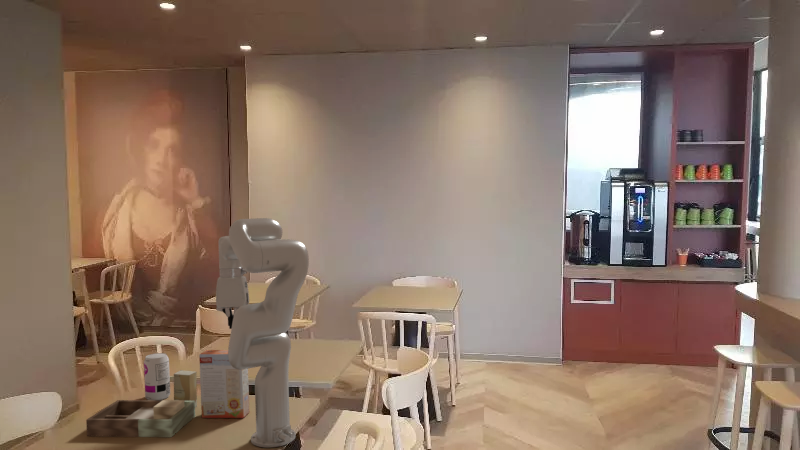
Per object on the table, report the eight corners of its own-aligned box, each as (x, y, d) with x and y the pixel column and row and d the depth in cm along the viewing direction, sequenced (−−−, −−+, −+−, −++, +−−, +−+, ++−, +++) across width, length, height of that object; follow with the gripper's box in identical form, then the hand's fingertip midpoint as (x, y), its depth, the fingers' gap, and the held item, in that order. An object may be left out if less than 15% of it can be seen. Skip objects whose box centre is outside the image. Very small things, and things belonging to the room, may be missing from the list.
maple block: (184, 412, 187) (184, 400, 187) (176, 420, 181) (175, 407, 181) (163, 412, 188) (162, 400, 188) (153, 419, 182) (153, 406, 182)
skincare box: (173, 409, 199) (172, 373, 198) (181, 405, 203) (179, 369, 202) (190, 411, 197) (189, 374, 197) (198, 406, 201) (196, 370, 201)
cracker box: (250, 412, 195) (248, 349, 194) (243, 419, 189) (241, 353, 188) (208, 411, 197) (206, 348, 195) (201, 418, 191) (198, 353, 189)
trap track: (195, 415, 193) (194, 400, 192) (171, 437, 176) (170, 420, 176) (118, 415, 195) (117, 400, 195) (87, 436, 178) (86, 419, 178)
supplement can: (143, 402, 206) (142, 359, 206) (147, 395, 214) (145, 353, 214) (168, 400, 209) (167, 357, 208) (171, 392, 217) (169, 351, 216)
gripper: (256, 271, 201) (258, 325, 202) (213, 272, 202) (215, 325, 203) (250, 274, 194) (252, 330, 195) (205, 275, 195) (207, 330, 196)
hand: (233, 327), depth 199 cm, fingers closed
